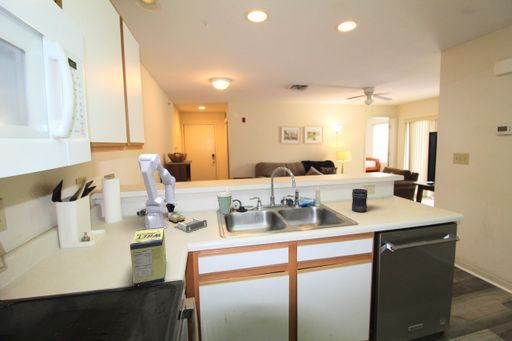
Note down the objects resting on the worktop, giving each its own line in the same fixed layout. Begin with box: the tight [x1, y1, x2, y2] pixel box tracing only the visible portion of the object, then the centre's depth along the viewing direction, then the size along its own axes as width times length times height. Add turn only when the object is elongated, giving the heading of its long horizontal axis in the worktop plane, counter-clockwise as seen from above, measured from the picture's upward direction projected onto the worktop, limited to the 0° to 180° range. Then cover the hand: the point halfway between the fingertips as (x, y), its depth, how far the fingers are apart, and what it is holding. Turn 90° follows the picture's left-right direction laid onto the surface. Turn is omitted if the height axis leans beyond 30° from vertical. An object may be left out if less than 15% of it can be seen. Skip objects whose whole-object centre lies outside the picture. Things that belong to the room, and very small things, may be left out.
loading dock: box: [172, 217, 208, 234], centre depth 141 cm, size 13×17×5 cm
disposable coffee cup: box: [216, 190, 233, 215], centre depth 165 cm, size 11×11×15 cm
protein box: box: [129, 227, 167, 287], centre depth 90 cm, size 10×16×16 cm
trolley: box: [167, 210, 186, 224], centre depth 150 cm, size 7×9×5 cm
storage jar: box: [351, 188, 368, 214], centre depth 165 cm, size 10×10×15 cm
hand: (171, 214), depth 155 cm, fingers closed
